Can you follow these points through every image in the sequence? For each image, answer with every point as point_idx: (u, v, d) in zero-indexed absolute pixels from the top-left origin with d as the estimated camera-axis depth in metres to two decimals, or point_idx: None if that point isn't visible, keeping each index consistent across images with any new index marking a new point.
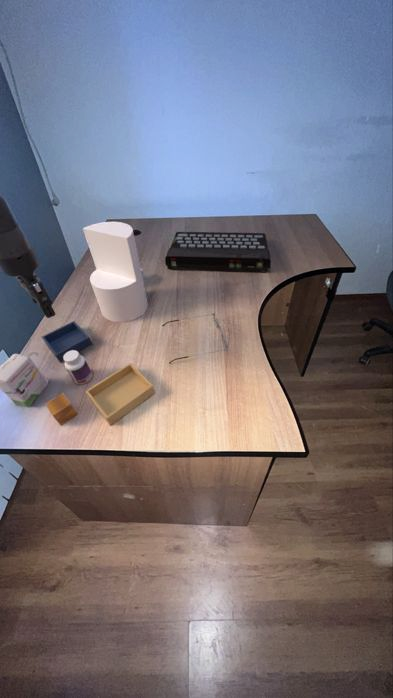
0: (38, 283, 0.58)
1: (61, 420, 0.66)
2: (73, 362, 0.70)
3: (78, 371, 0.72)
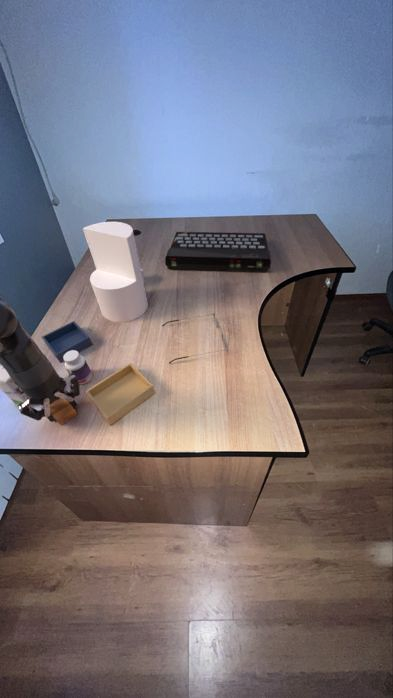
0: (20, 410, 0.59)
1: (61, 420, 0.66)
2: (73, 362, 0.70)
3: (78, 371, 0.72)
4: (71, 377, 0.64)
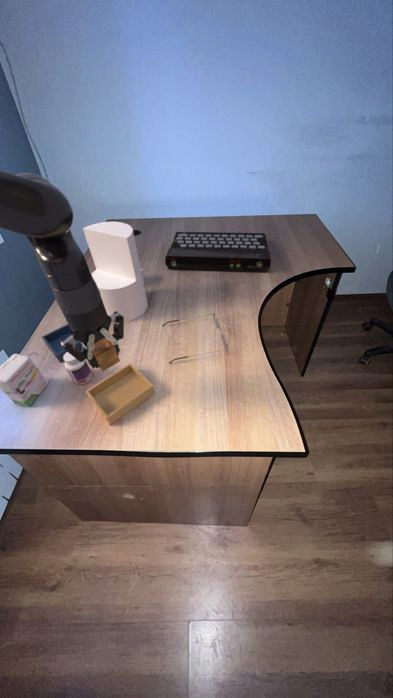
0: (63, 346, 0.51)
1: (104, 364, 0.59)
2: (73, 362, 0.70)
3: (78, 371, 0.72)
4: (116, 314, 0.57)
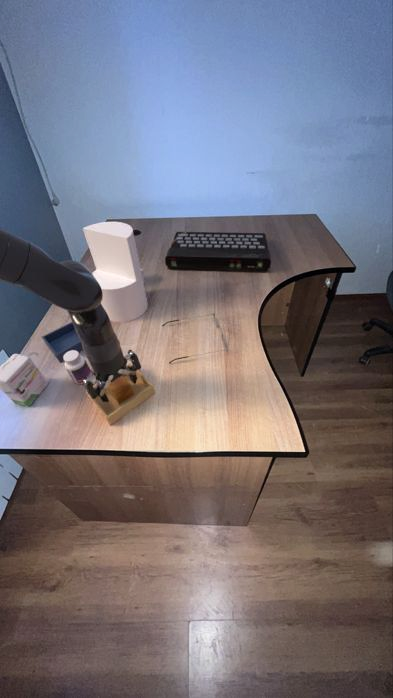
0: (86, 383, 0.60)
1: (120, 399, 0.70)
2: (73, 362, 0.70)
3: (78, 371, 0.72)
4: (130, 354, 0.66)
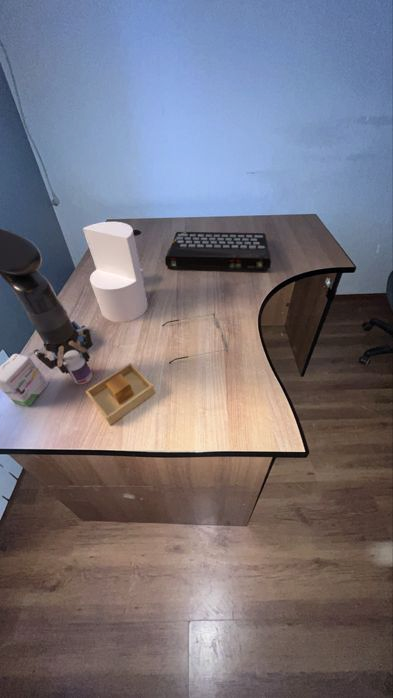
0: (36, 355, 0.63)
1: (120, 399, 0.70)
2: (73, 362, 0.70)
3: (78, 371, 0.72)
4: (83, 328, 0.69)
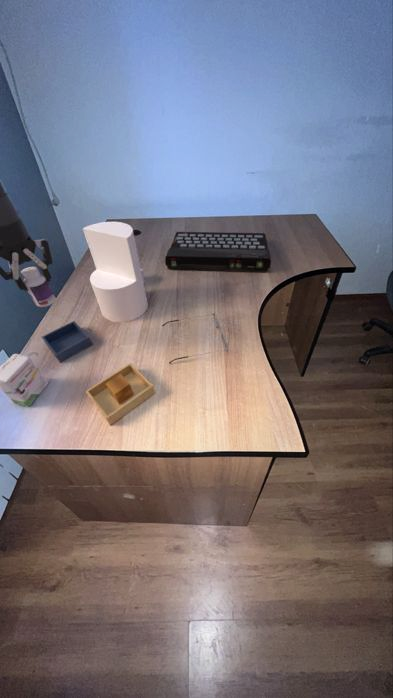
0: None
1: (120, 399, 0.70)
2: (31, 277, 0.67)
3: (38, 288, 0.68)
4: (41, 240, 0.65)
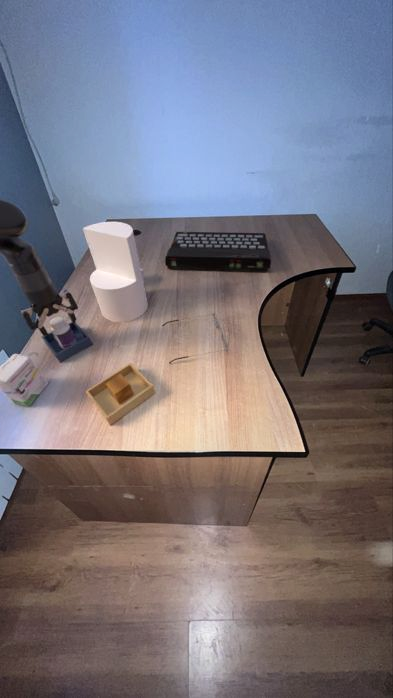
0: (22, 312, 0.71)
1: (120, 399, 0.70)
2: (58, 327, 0.79)
3: (63, 335, 0.81)
4: (65, 293, 0.77)
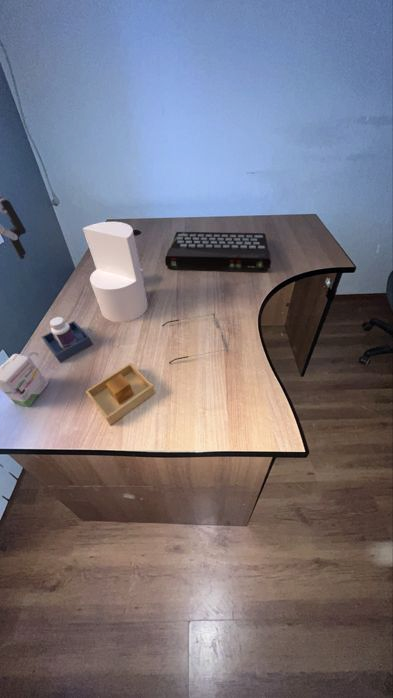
0: None
1: (120, 399, 0.70)
2: (58, 327, 0.79)
3: (63, 335, 0.81)
4: (0, 200, 0.47)
